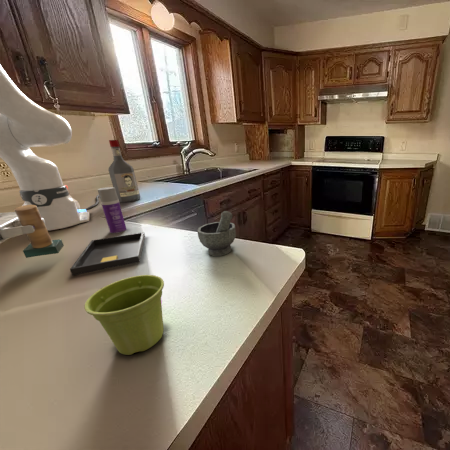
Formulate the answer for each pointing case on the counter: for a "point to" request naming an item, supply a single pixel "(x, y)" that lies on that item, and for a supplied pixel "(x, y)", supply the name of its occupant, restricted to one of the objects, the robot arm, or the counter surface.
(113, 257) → the block
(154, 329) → the plant pot
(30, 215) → the brush
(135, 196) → the liquor
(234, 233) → the mortar and pestle
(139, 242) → the pan
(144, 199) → the counter surface
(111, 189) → the container
